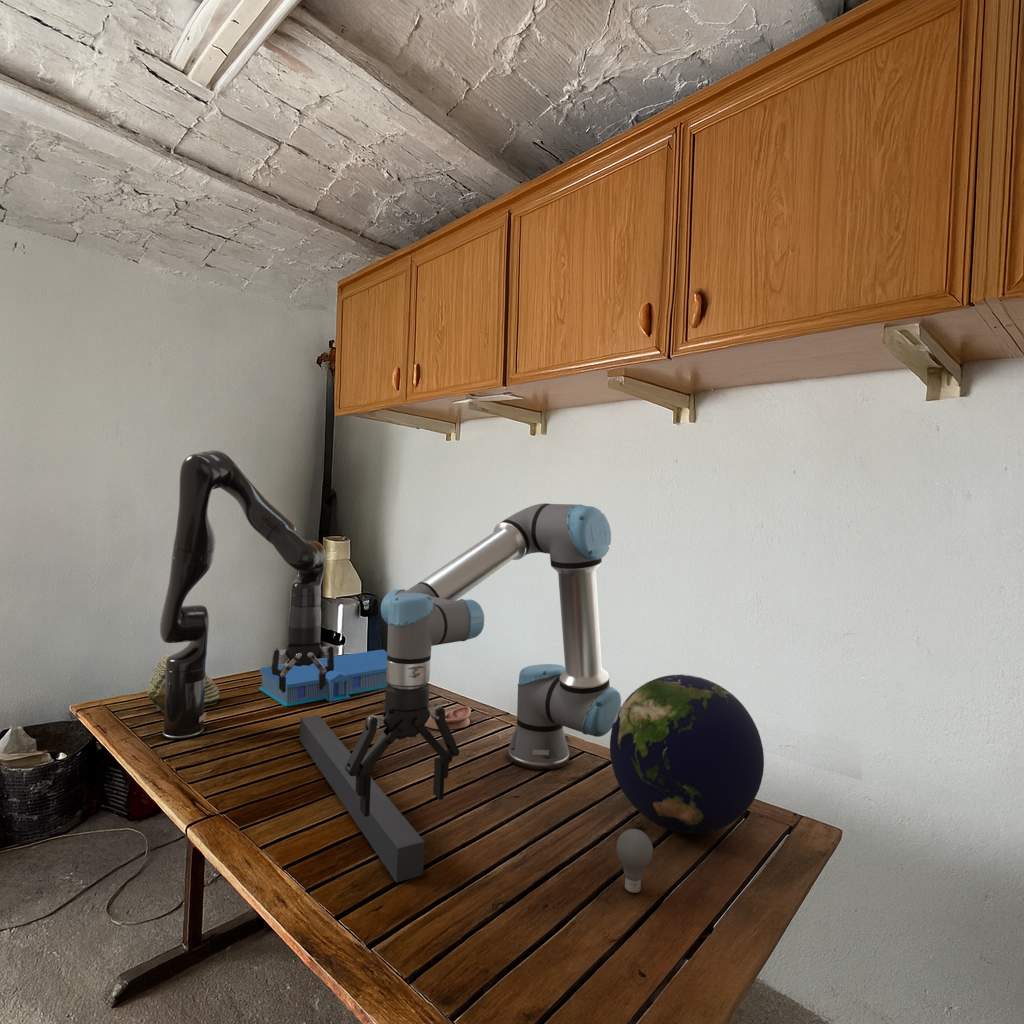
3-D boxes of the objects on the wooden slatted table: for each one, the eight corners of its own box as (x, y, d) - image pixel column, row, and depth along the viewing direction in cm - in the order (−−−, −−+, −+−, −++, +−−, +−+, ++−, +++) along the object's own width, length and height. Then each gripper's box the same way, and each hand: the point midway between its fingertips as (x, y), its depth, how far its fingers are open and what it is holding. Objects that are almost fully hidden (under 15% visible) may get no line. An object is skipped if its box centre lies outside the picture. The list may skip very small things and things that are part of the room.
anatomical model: (417, 713, 176) (431, 700, 187) (417, 727, 176) (430, 714, 187) (463, 718, 173) (474, 705, 184) (463, 733, 173) (473, 719, 184)
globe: (589, 842, 120) (597, 685, 120) (623, 780, 148) (629, 652, 147) (758, 884, 109) (767, 711, 108) (760, 808, 137) (767, 670, 136)
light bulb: (610, 879, 108) (613, 822, 108) (644, 879, 109) (647, 822, 109) (619, 902, 102) (622, 840, 102) (655, 901, 103) (658, 840, 103)
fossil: (144, 707, 182) (145, 655, 182) (212, 696, 194) (213, 647, 194) (151, 716, 175) (153, 662, 175) (221, 703, 188) (223, 653, 188)
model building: (289, 709, 186) (291, 675, 185) (258, 688, 204) (259, 657, 204) (403, 687, 212) (405, 657, 212) (366, 670, 230) (368, 643, 230)
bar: (299, 739, 164) (300, 717, 164) (318, 737, 166) (319, 715, 166) (396, 882, 105) (397, 848, 105) (423, 875, 108) (424, 841, 108)
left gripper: (274, 627, 147) (272, 697, 147) (337, 625, 153) (334, 692, 153) (272, 621, 153) (269, 688, 154) (332, 619, 159) (329, 683, 160)
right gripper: (342, 698, 100) (337, 831, 101) (481, 681, 113) (475, 798, 114) (329, 685, 107) (324, 810, 107) (461, 670, 120) (457, 781, 120)
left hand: (302, 690), depth 153 cm, fingers open, 8 cm apart
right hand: (402, 804), depth 110 cm, fingers open, 13 cm apart
